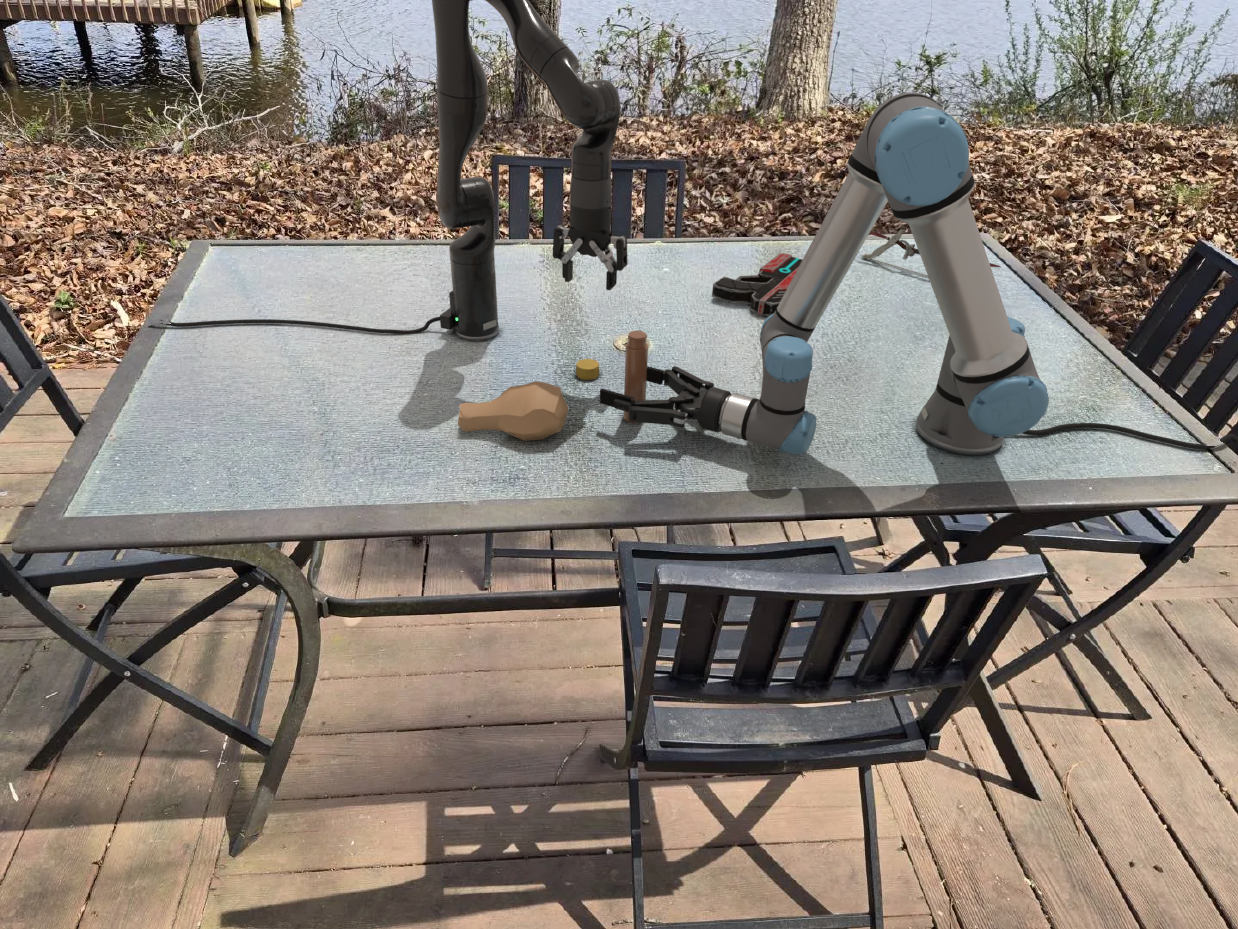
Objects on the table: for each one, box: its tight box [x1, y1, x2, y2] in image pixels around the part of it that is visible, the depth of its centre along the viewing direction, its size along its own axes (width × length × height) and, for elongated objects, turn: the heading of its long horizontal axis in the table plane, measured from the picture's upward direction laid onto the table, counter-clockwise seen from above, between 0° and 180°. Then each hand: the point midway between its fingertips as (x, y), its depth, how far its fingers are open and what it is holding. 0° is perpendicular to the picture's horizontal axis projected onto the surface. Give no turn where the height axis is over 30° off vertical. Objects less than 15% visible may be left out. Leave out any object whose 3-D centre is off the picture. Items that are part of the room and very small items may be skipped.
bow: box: [861, 228, 1002, 277], centre depth 225 cm, size 39×2×10 cm, turn 47°
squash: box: [457, 380, 570, 442], centre depth 157 cm, size 11×20×9 cm, turn 90°
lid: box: [575, 358, 600, 381], centre depth 177 cm, size 5×5×2 cm
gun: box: [711, 252, 803, 317], centre depth 215 cm, size 4×31×19 cm
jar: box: [623, 330, 649, 424], centre depth 159 cm, size 4×4×17 cm
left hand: (589, 284), depth 167 cm, fingers open, 8 cm apart
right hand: (616, 382), depth 162 cm, fingers open, 11 cm apart
